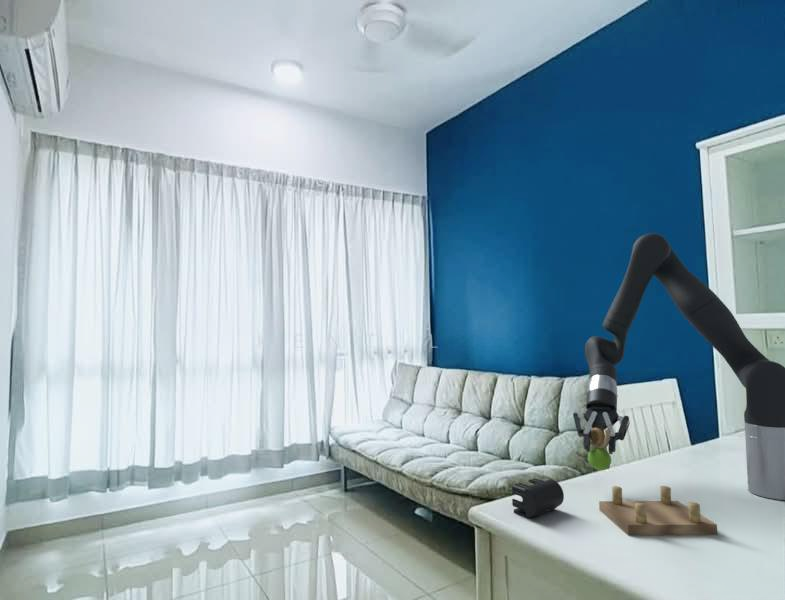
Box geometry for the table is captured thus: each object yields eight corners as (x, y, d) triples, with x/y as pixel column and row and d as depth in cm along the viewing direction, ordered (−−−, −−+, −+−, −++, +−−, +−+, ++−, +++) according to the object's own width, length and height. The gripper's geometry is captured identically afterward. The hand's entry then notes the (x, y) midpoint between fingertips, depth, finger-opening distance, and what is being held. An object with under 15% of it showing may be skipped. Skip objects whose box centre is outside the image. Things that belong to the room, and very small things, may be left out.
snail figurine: (605, 475, 113) (602, 425, 114) (583, 468, 119) (581, 421, 119) (620, 471, 115) (617, 422, 116) (598, 465, 121) (595, 418, 122)
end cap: (537, 523, 100) (536, 491, 100) (511, 513, 105) (510, 482, 106) (564, 512, 106) (564, 482, 106) (538, 503, 111) (537, 474, 112)
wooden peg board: (678, 509, 107) (676, 485, 107) (717, 534, 94) (716, 506, 94) (599, 510, 107) (598, 485, 107) (628, 535, 94) (626, 507, 94)
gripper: (571, 386, 128) (566, 440, 117) (629, 387, 121) (629, 445, 110) (576, 402, 133) (571, 456, 121) (632, 405, 125) (632, 462, 114)
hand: (599, 450), depth 116 cm, fingers closed on snail figurine, 4 cm apart
